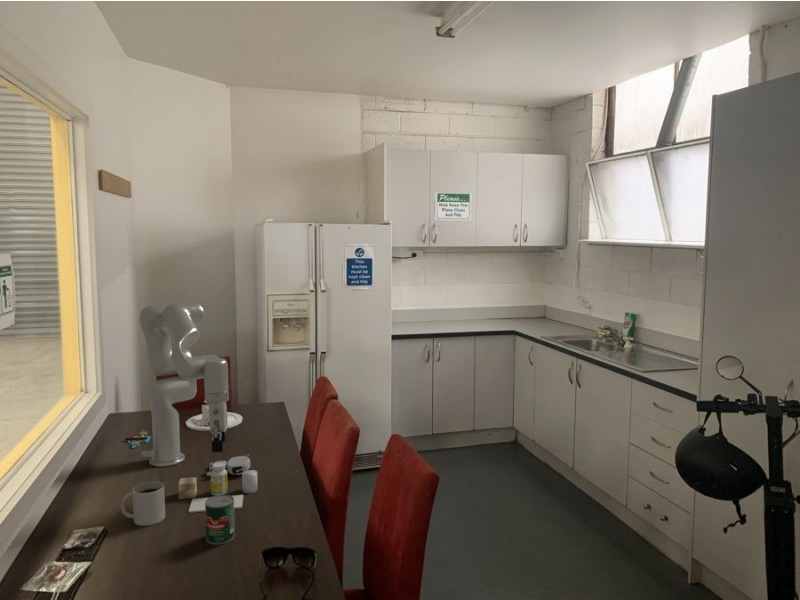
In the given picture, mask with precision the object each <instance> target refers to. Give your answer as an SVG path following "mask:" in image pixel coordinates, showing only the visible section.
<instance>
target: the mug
mask: <svg viewBox="0 0 800 600" xmlns="http://www.w3.org/2000/svg"><path fill="white" fill-rule="evenodd" d="M129 497H132V512H133V513H129V512H128V511H126V509H125V501H126V500H127V498H129ZM165 501H166V499H165V484H164V482H160V481H146V482H142V483H139V484H137V485H135V486H133V488H132V490H131V491H130V492H128V493H127V494H125V495H124V497H123V498H122V500H121V504H120V509H121V513H122V514H123V515H124V516H125V517H126V518H130V519H133V523H134V524H135V525H136V526H140V527H141V526H143V527H145V526H147V527H148V526H152V525H156V524H158V523H160V522H162V521H164V519H165V518H166V502H165Z"/></svg>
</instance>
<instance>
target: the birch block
mask: <svg viewBox="0 0 800 600" xmlns="http://www.w3.org/2000/svg"><path fill="white" fill-rule="evenodd" d="M177 486H178V499H179V500H183V499H184V500H186V499H196V495H197V492H198V489H197V488H198V486H197V477H196V476H195V477H182V478H180V479H179V481H178V484H177Z"/></svg>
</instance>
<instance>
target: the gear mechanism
mask: <svg viewBox="0 0 800 600" xmlns="http://www.w3.org/2000/svg"><path fill="white" fill-rule="evenodd" d="M140 435H141V436H140ZM144 435H147V436H144ZM145 438H147V439H145ZM150 438H151V439H152V436H148V431H144V429H141V431H140V432H139V434H138V435H134V436H133V437H131V436H130V437H129V436H128V437H125V438H124V441H127V444H128V443H131V444H130V447H131V446H132V447H131V449H132V448H135V447H136V446H137V447H140V444H144V443H143V442H147V443H149V442H150V440H151V439H150ZM131 440H132V441H131ZM134 440H136V441H134ZM137 440H138V441H137ZM141 440H145V441H141ZM130 441H131V442H130ZM139 442H142V443H139ZM137 447H136V448H137ZM136 448H135V449H136Z"/></svg>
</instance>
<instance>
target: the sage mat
mask: <svg viewBox="0 0 800 600" xmlns="http://www.w3.org/2000/svg"><path fill="white" fill-rule="evenodd" d="M231 496H232V497H233V498H234V510H239V509H242V508H243V502H244V494H236V495H231ZM208 498H210V497H198V498H196V497H195V498H191V502H190V505H189V508H188V514H190V513H191V514H192V513H203V512H205V501H206V500H207V499H208Z"/></svg>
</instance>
